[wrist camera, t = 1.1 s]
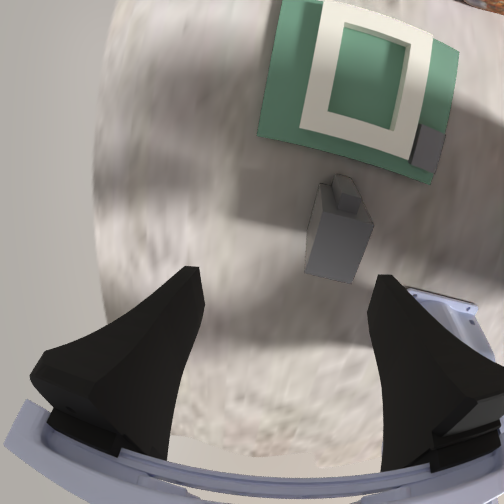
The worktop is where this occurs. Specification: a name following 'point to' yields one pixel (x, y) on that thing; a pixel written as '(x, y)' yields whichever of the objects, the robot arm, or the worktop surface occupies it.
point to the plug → (337, 231)
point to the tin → (488, 5)
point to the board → (359, 87)
